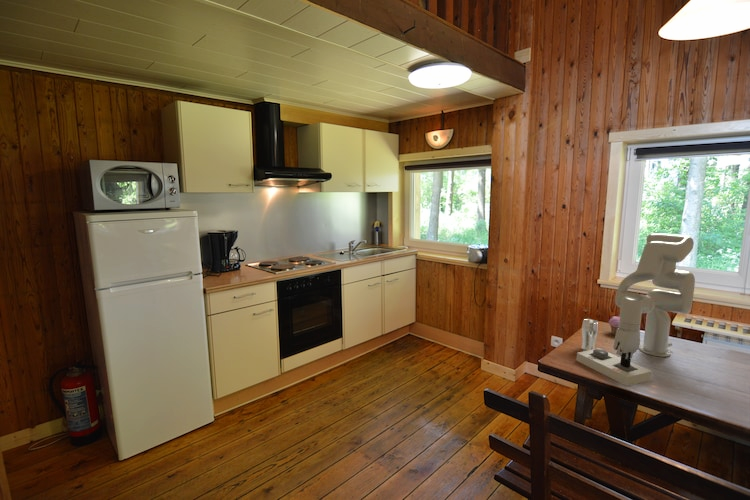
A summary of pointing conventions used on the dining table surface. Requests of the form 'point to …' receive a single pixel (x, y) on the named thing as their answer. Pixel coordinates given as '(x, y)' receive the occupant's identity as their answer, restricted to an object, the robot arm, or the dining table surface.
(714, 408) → the dining table surface
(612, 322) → the cupcake
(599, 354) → the button plain
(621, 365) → the button marked
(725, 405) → the dining table surface
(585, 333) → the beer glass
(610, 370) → the button board
